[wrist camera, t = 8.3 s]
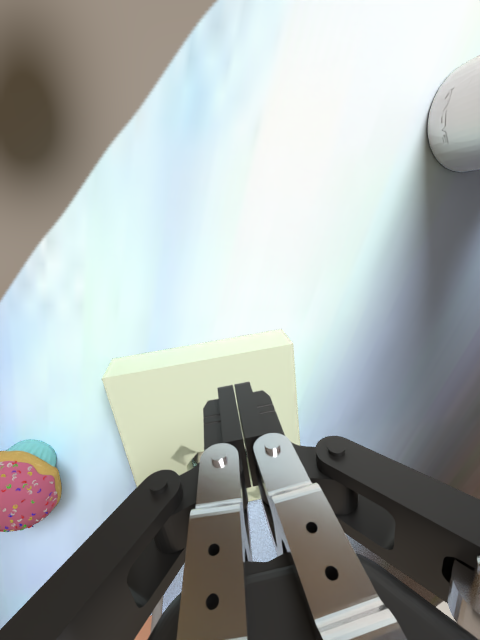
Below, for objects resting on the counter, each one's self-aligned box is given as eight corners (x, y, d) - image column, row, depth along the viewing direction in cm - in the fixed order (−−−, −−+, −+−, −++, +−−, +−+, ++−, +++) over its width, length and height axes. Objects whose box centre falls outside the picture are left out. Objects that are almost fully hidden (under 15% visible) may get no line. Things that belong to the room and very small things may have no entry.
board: (281, 328, 33) (356, 423, 18) (292, 463, 40) (353, 612, 25) (92, 362, 31) (2, 499, 16) (136, 497, 38) (102, 683, 23)
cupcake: (-27, 440, 32) (-142, 563, 21) (52, 413, 32) (-21, 519, 21) (18, 496, 35) (-61, 628, 24) (90, 470, 36) (44, 589, 24)
